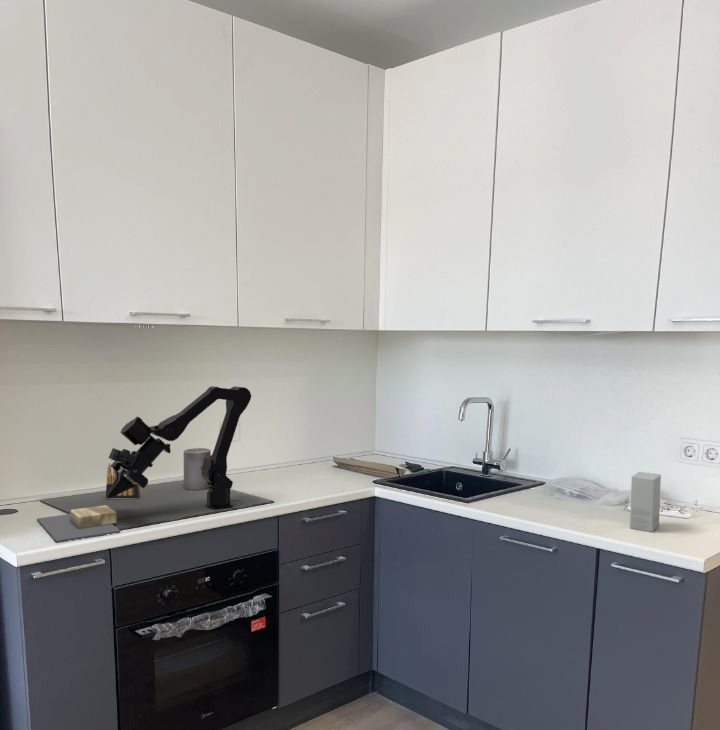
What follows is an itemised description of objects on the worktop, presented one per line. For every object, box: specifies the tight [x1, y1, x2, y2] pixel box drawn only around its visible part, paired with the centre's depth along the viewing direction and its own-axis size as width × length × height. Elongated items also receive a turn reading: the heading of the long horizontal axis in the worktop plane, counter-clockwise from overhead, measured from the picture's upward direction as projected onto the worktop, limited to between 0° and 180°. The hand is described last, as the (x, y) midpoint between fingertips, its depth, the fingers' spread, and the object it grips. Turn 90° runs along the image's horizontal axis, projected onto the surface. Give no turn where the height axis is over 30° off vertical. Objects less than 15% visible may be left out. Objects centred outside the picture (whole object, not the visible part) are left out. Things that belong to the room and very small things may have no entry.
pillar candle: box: [183, 446, 212, 491], centre depth 227 cm, size 10×10×15 cm
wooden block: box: [69, 504, 117, 528], centre depth 178 cm, size 3×10×10 cm
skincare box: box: [629, 471, 662, 533], centre depth 182 cm, size 8×7×16 cm
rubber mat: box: [36, 513, 121, 544], centre depth 176 cm, size 16×26×1 cm, turn 37°
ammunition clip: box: [105, 463, 141, 500], centre depth 210 cm, size 11×2×12 cm, turn 96°
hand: (108, 497), depth 181 cm, fingers closed
